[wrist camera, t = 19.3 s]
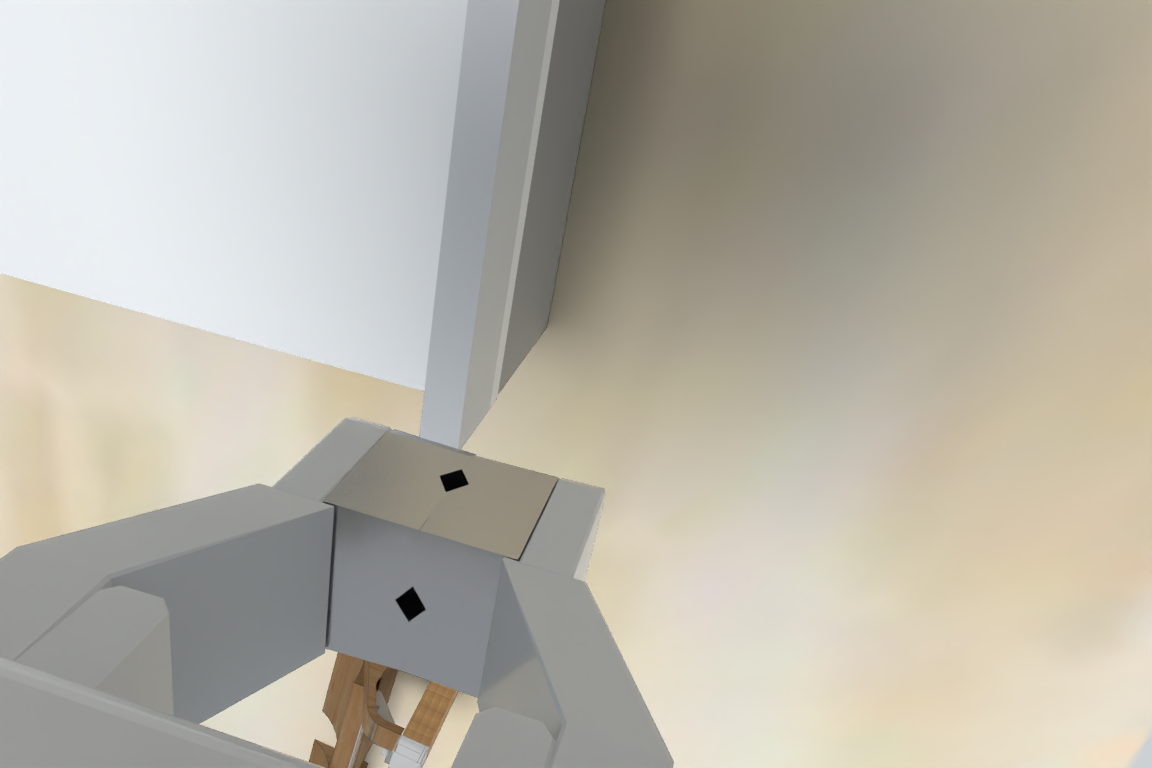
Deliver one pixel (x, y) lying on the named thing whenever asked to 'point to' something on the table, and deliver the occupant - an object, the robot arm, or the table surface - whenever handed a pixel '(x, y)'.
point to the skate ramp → (377, 718)
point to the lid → (284, 174)
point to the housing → (552, 175)
